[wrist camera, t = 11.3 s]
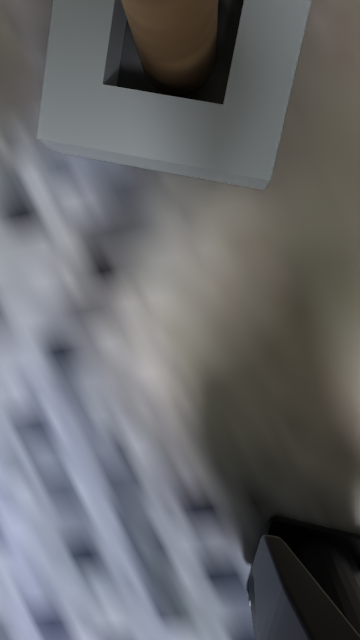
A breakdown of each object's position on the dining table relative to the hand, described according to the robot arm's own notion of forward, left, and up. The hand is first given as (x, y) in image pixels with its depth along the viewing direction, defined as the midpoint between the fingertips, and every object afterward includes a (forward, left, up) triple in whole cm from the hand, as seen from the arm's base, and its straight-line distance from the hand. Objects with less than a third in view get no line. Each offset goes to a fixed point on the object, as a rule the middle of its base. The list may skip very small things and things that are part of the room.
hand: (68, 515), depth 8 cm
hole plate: (+2, -17, -13) cm, 21 cm away
